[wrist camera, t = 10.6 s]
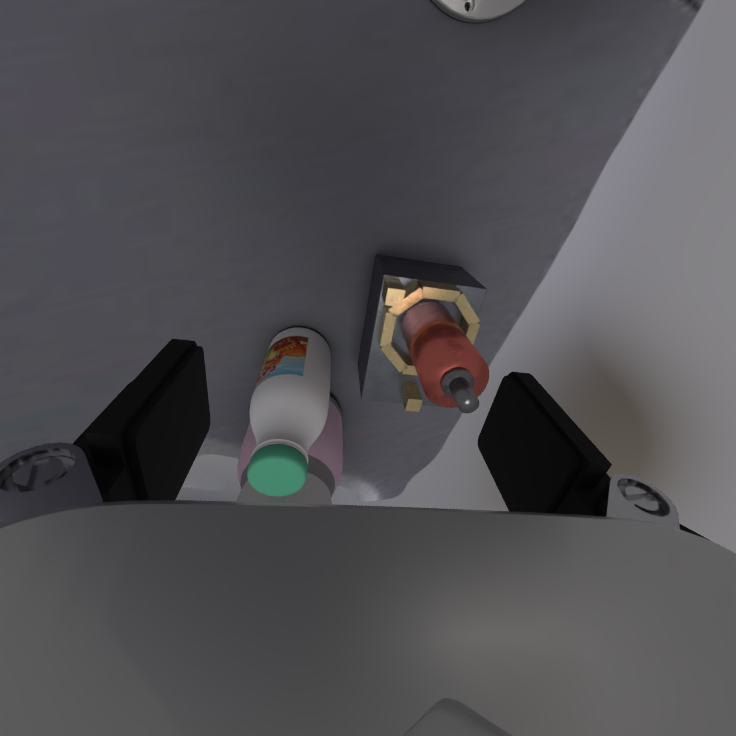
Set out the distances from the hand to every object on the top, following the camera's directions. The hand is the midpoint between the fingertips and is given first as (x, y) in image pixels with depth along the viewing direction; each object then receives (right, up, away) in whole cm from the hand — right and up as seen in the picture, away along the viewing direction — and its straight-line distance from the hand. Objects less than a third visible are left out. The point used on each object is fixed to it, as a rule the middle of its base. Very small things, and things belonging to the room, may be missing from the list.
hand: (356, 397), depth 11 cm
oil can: (+6, +5, +23) cm, 25 cm away
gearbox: (+5, +7, +32) cm, 33 cm away
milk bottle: (-8, +3, +33) cm, 34 cm away
